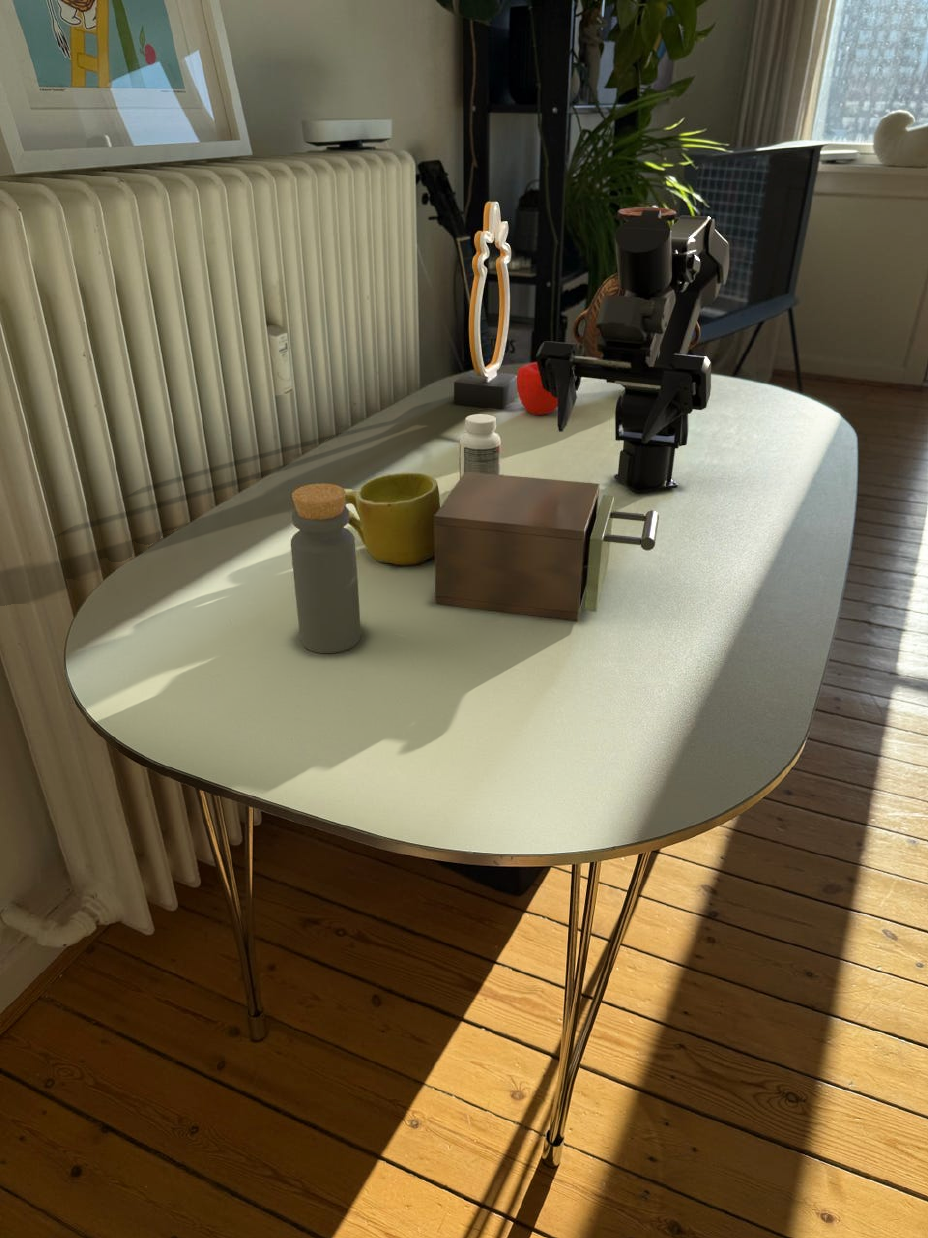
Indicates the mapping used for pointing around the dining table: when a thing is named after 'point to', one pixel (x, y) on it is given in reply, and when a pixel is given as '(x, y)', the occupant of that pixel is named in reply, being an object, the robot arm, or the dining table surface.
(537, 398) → the apple
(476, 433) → the pill bottle
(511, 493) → the cabinet
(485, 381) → the white statuette
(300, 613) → the bottle
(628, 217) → the vase
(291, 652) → the dining table surface
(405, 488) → the mug
